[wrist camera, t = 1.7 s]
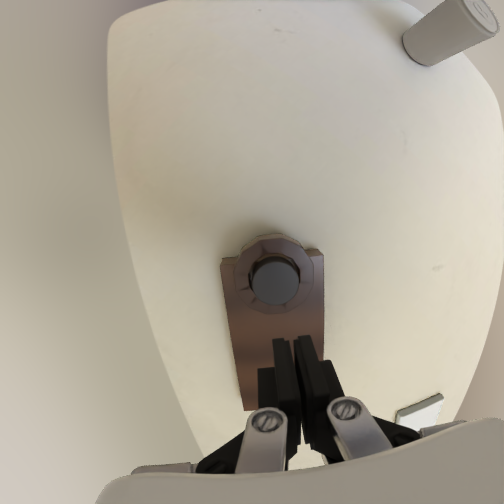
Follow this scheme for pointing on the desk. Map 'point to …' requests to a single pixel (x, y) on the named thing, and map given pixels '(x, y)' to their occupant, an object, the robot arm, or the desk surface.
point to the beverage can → (450, 30)
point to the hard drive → (421, 413)
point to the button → (275, 280)
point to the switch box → (270, 308)
